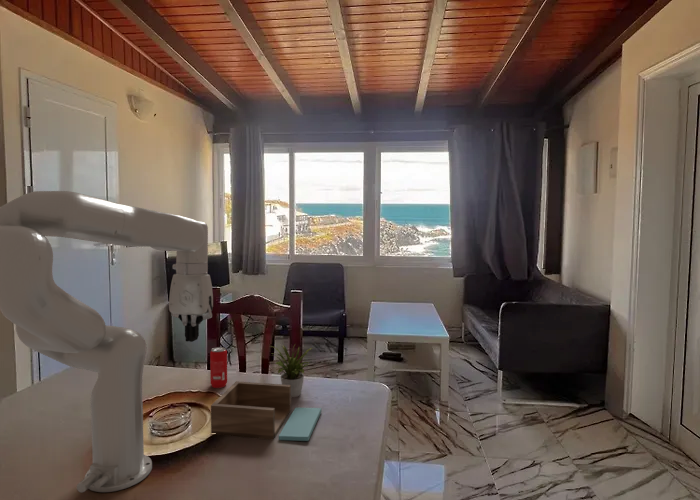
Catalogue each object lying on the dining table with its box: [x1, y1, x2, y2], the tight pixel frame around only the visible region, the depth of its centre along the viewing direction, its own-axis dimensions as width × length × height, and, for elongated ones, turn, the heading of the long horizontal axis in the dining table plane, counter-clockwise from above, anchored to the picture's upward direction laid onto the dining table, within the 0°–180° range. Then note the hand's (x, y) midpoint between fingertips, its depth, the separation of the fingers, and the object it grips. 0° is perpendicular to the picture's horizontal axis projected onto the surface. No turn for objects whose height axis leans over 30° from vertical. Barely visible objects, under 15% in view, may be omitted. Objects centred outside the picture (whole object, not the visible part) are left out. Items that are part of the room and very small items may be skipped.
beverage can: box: [209, 346, 228, 389], centre depth 140 cm, size 5×5×12 cm
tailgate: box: [278, 407, 322, 442], centre depth 113 cm, size 16×1×7 cm
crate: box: [210, 380, 292, 441], centre depth 115 cm, size 16×16×8 cm
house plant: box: [270, 344, 314, 398], centre depth 133 cm, size 14×14×16 cm
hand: (191, 340), depth 112 cm, fingers closed
